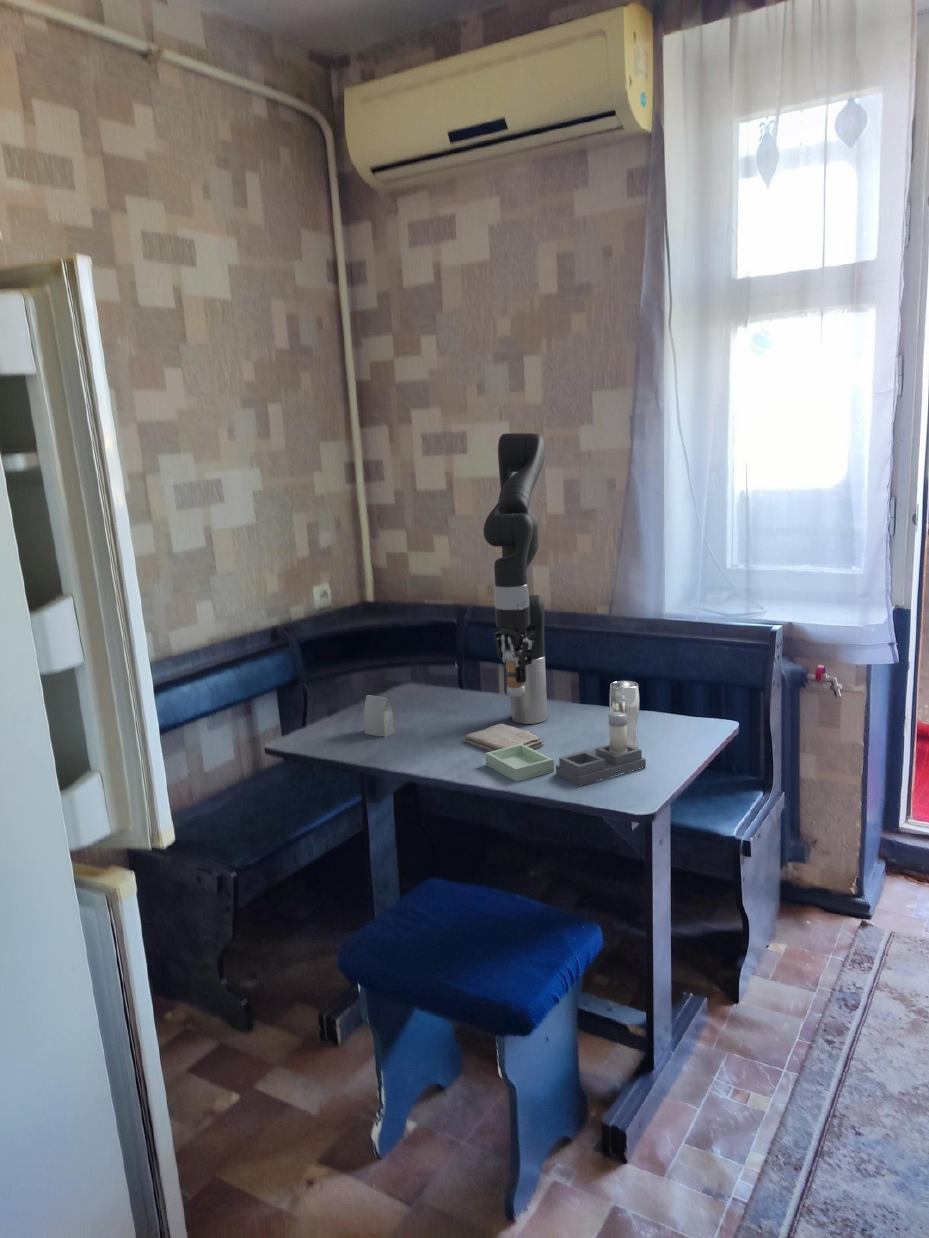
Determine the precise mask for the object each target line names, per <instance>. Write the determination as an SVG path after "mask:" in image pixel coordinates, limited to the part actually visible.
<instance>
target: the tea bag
mask: <svg viewBox="0 0 929 1238" xmlns="http://www.w3.org/2000/svg"><path fill="white" fill-rule="evenodd" d="M362 711H363V712H362V713H363V715H362V716H363V723H364V726H363V727H364V734H365V735H370V736H375V737H381V736H384V737H383V738H387V737H389V736H391V735H393V734H395V728H394V727H395V726H394V718H393V717H394V715H393V714H394V713H393V709H392V706H391V705H390V702H389V698H388V697H384V696H378V695H372V694H371V695H370V694H367V695H365V703H364V707H363V710H362ZM386 736H387V737H386Z"/></svg>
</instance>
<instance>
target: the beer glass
mask: <svg viewBox="0 0 929 1238" xmlns="http://www.w3.org/2000/svg"><path fill="white" fill-rule="evenodd" d="M609 685H610V687H609V708H610V709H609V710H610V713H613V712H622V713H626V714H627V724H626V725H627V744H628V745H631V746H633V747H635V748H638V745H639V740H638V736H637V735H638V734H637V725H638V718H639V712H640V691H639V684H638V683H637V682H636V681H632V680H619V681H613V682H611V683H610V684H609Z"/></svg>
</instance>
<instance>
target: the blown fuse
mask: <svg viewBox="0 0 929 1238" xmlns="http://www.w3.org/2000/svg"><path fill="white" fill-rule="evenodd" d="M516 652H517V653H519V652H521V650H520V651H516ZM505 660H506V675H507V679H506V695H507V696H508V697H510V696H512V697H518V696H523V695H525V685H524V683H517V682H516V673H515V667H516V665H515V660H514V657H512V654H511V650H508V649H507V650H506V651H505ZM519 661H520V656H519Z"/></svg>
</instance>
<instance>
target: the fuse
mask: <svg viewBox="0 0 929 1238" xmlns="http://www.w3.org/2000/svg"><path fill="white" fill-rule="evenodd" d="M626 724H627V714H626V713H622V712H613V713H611V712H609V713H608V730H609V735H608V736H609V744H610V749H609V752H611V753H614V754H616V755H617V754H621V753H625V752H628V751H627V725H626Z"/></svg>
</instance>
